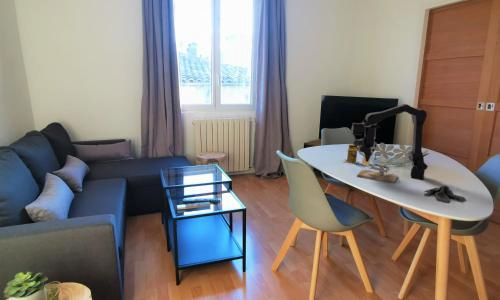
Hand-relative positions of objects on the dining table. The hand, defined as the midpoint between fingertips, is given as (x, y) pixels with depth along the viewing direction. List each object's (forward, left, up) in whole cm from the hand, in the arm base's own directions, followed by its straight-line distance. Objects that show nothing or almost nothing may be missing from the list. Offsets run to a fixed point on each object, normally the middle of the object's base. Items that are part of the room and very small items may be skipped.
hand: (367, 161), depth 180 cm
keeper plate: (-6, 0, -8) cm, 11 cm away
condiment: (+16, -24, -9) cm, 30 cm away
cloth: (-38, +14, -9) cm, 42 cm away
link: (-5, 0, -3) cm, 5 cm away
